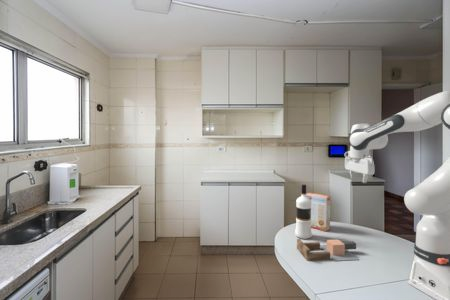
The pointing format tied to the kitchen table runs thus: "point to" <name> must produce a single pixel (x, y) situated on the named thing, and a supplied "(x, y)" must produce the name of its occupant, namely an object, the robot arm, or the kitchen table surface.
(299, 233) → the vodka
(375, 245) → the kitchen table surface
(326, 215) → the cracker box
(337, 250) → the terracotta block
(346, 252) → the grey pad
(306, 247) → the brown wooden tray
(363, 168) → the robot arm
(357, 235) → the kitchen table surface
